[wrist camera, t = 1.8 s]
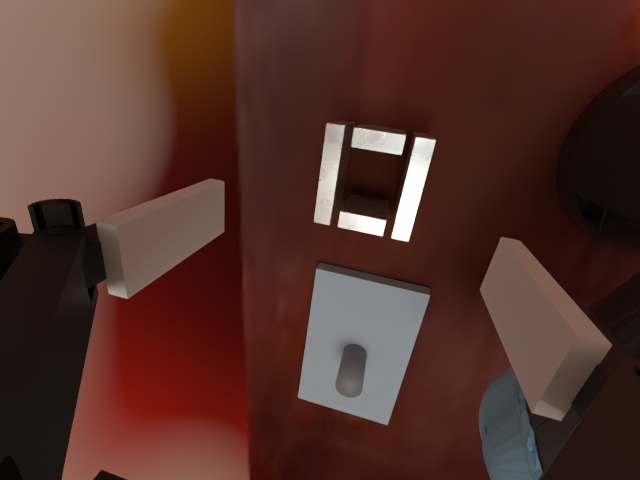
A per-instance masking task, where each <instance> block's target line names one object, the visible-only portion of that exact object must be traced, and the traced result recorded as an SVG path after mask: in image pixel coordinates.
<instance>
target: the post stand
mask: <svg viewBox="0 0 640 480" xmlns="http://www.w3.org/2000/svg"><path fill="white" fill-rule="evenodd" d="M429 298H430V289H429V288H428V287H424V286H420V285H415V284H411V283H407V282H402V281H398V280H394V279H390V278H385V277H381V276H377V275H372V274H368V273H364V272H359V271H355V270H351V269H346V268H342V267H338V266H333V265H329V264H325V263H319V265H318V266H317V268H316V275H315V282H314V289H313V296H312V303H311V310H310V317H309V324H308V331H307V338H306V345H305V352H304V358H303V365H302V372H301V379H300V386H299V393H298V398H300V399H304V400H307V401H310V402H314V403H317V404H320V405H323V406H327V407H330V408H333V409H336V410H340V411H343V412H346V413H349V414H353V415H356V416H359V417H362V418H366V419H369V420H372V421H375V422H379V423H382V424H385V425H388V422H389V419H390V416H391V413H392V410H393V407H394V404H395V401H396V398H397V395H398V392H399V389H400V386H401V383H402V380H403V377H404V374H405V371H406V368H407V365H408V362H409V359H410V356H411V353H412V350H413V347H414V344H415V341H416V338H417V335H418V332H419V329H420V325H421V322H422V319H423V316H424V313H425V310H426V307H427V304H428V301H429Z"/></svg>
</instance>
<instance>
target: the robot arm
mask: <svg viewBox="0 0 640 480" xmlns="http://www.w3.org/2000/svg"><path fill="white" fill-rule="evenodd" d="M557 183H558V190H559V195H560V198H561V201H562V203H563V206H564V208H565V209H566V211H567V213H568V214H569V216H570V217H571V218H572V219H573V221H574V222H575V223H576V224H577V225H578V226H580V227H581V228H582V229H583V230H585V231H586V232H588V233H589V234H591V235H592V236H594V237H595V238H597V239H598V240H600V241H601V242H603V243H605V244H607V245H609V246H611V247H613V248H616V249H619V250H621V251H624V252H627V253H631V254H635V255H640V66H639V67H637V68H635V69H633V70H632V71H630V72H628V73H627V74H625V75H624V76H622V77H621V78H619V79H618V80H617V81H615V82H614V83H613V84H611V85H610V86H609V87H608V88H607V89H605V90H604V91H603V92H602V93H601V94H600V95H599V96H598V97H597V98H596V99H595V100H594V101H593V102H592V103H591V104H590V105H589V106H588V107H587V108H586V110H585V111H584V112H583V113H582V114H581V116H580V117H579V118H578V120H577V121H576V123H575V124H574V126H573V128H572V129H571V131H570V133H569V135H568V137H567V139H566V141H565V143H564V146H563V148H562V152H561V155H560V159H559V164H558V172H557ZM28 210H29V213H30V217H31V221H32V224H33V228H34V232H33V234H24V233H18V230H17V227H16V224H15V221H14V220H13V219H10V218H2V217H0V480H61V479H62V473H63V468H64V463H65V458H66V453H67V448H68V443H69V438H70V433H71V428H72V423H73V418H74V413H75V408H76V403H77V398H78V393H79V388H80V383H81V378H82V373H83V368H84V363H85V358H86V353H87V348H88V343H89V338H90V333H91V328H92V323H93V318H94V313H95V308H96V303H97V298H98V290H97V284H98V283H100V282H102V281H103V280H105V279H106V282H107V287H108V293H109V294H112V295H115V296H119V297H122V298H126V299H128V298H129V297H131V296H132V295H134V294H135V293H136V292H138V291H140V290H141V289H142V288H144V287H145V286H147V285H148V284H149V283H151V282H152V281H154V280H155V279H157V278H158V277H160V276H161V275H162V274H164V273H165V272H167V271H168V270H170V269H171V268H173V267H174V266H175V265H177V264H178V263H180V262H181V261H182V260H184V259H185V258H187V257H188V256H190V255H191V254H193V253H194V252H196V251H197V250H198V249H200V248H201V247H203V246H204V245H206V244H207V243H208V242H210V241H211V240H213V239H214V238H216V237H217V236H218V235H220V234H221V233H223V232H224V181H220V180H215V179H208V180H205V181H203V182H200V183H197V184H195V185H192V186H190V187H187V188H184V189H181V190H178V191H176V192H173V193H170V194H168V195H165V196H162V197H160V198H157V199H154V200H152V201H149V202H146V203H144V204H141V205H138V206H135V207H133V208H130V209H127V210H125V211H122V212H119V213H116V214H114V215H111V216H108V217H106V218H103V219H100V220H98V221H96V223H94V224H92V225H89V226H86V227H85V223H84V218H83V213H82V208H81V203H80V202H78V201H76V200H71V199H50V200H44V201H38V202H35V203H32V204H30V205H29V206H28ZM480 292H481V295H482V297H483V299H484V302H485V304H486V306H487V309H488V311H489V313H490V316H491V318H492V321H493V323H494V325H495V328H496V330H497V332H498V335H499V337H500V339H501V342H502V344H503V346H504V349H505V351H506V354H507V356H508V358H509V361H510V363H511V365H512V366H511V367H510V368H509V369H508V370H506V371H505V372H504V373H503V374H502V375H500V376H499V377H498V378H497V379H496V380H494V381H493V382H492V383H491V384H490V385H489V387H488V388H487V389H486V391H485V393H484V395H483V397H482V400H481V404H480V410H479V431H480V435H481V438H482V442H483V447H482V451H483V455H484V460H485V463H486V467H487V470H488V474H489V477H490V480H640V272H638V273H637V274H636V275H634V276H633V277H631V278H630V279H629V280H627V281H626V282H625V283H623V284H622V285H620V286H619V287H618V288H616V289H615V290H614V291H612V292H611V293H609V294H608V295H607V296H605V297H604V298H603V299H601V300H600V301H598V302H597V303H596V304H594V305H593V306H592V307H590V308H589V309H586V308H584V307H583V306H582V305H580V304H579V303H576V302H574V301H573V300H572V299H571V298H570V296H569V295H568V294H567V293H566V292H565V291H564V290H563V289H562V287H561V286H560V285H559V284H558V283H557V282H556V281H555V280H554V278H553V277H552V276H551V275H550V274H549V273H548V272H547V270H546V269H545V268H544V267H543V266H542V265H541V264H540V263H539V261H538V260H537V259H536V258H535V257H534V256H533V255H532V254H531V252H530V251H529V250H528V249H527V248H526V247H525V246H524V244H523V243H522V242H521V241H520V240H515V239H510V238H505V237H501V238H500V241H499V243H498V246H497V248H496V251H495V253H494V255H493V258H492V260H491V263H490V265H489V268H488V270H487V273H486V275H485V278H484V280H483V283H482V285H481V288H480ZM93 480H126V479H124V478H121V477H118V476H116V475H113V474H111V473H108V472H105V471H103V470H101V471H100V472H99V473H98V475H97V476H96V477H95V478H94V479H93Z"/></svg>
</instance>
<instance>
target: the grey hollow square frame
mask: <svg viewBox="0 0 640 480" xmlns="http://www.w3.org/2000/svg"><path fill="white" fill-rule="evenodd" d="M355 123H356V122H350V121H344V120H338V121H334V122H329V123H327V124H326V132H325V140H324V147H323V155H322V163H321V170H320V178H319V186H318V193H317V201H316V209H315V216H314V222H317V223H321V224H326V225H330V224H331V222H332V221H333V219H334V217H335V216H336V214H337V212H338V211H339V209H340V207H341V206H342V201H343V195H344V189H345V183H346V177H347V171H348V165H349V159H350V153H351V147H355V148H361V149H367V150H373V151H379V152H385V153H391V154H397V155H402V151H403V147H404V143H405V138H406V131H405V130H402V129H396V128H389V127H383V126H376V125H370V124H361V125H358V126H356V127H355ZM435 142H436V140H435V139H434V138H433V137H432V136H431V135H430V134H428V133H421V132H415V131H413V134H412V139H411V143H410V147H409V151H408V155H407V159H406V164H405V168H404V172H403V176H402V180H401V184H400V188H399V193H398V197H397V201H396V205H395V209H394V213H393V221H392V234H391V238H393V239H397V240H402V241H407V242H408V241H409V238H410V234H411V230H412V227H413V223H414V219H415V216H416V212H417V208H418V205H419V201H420V197H421V194H422V190H423V186H424V183H425V179H426V175H427V172H428V168H429V164H430V161H431V157H432V153H433V150H434V146H435ZM388 205H389V201H388V200H382V199H377V198H372V197H367V196H362V195H356V194H350V196H349V197H348V199H347V201H346V203H345V204H344V206H343V208H342V209H341V211H340V216H339V222H338V227H340V228H345V229H350V230H355V231H359V232H364V233H369V234H374V235H378V236H383V233H384V228H385V224H386V219H387V212H388Z"/></svg>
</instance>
